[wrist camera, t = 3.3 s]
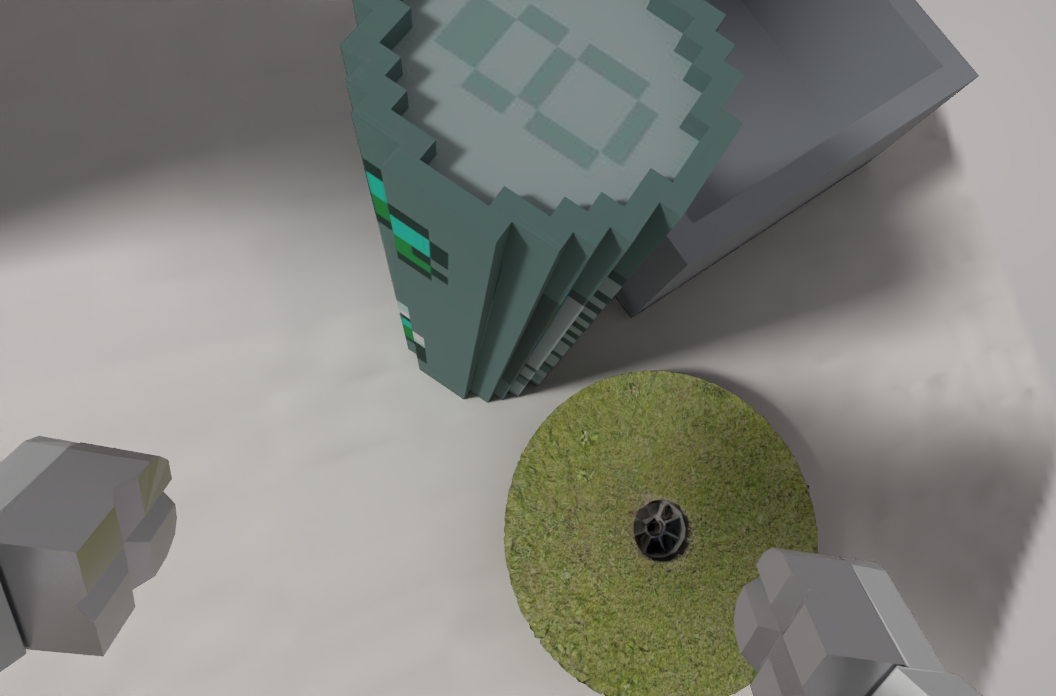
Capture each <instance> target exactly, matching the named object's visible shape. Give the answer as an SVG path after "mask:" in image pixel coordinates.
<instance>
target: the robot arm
mask: <svg viewBox="0 0 1056 696" xmlns="http://www.w3.org/2000/svg"><path fill="white" fill-rule="evenodd" d="M171 479H172V477H171V472H170V467H169V461H168V460H167V459H165V458H163V457H161V456H156V455H150V454H144V453H139V452H133V451H127V450H121V449H116V448H110V447H104V446H99V445H93V444H87V443H77V442H71V441H65V440H60V439H54V438H48V437H43V436H37V437H35V438H32V439H29V440H26V441H24V442H23V443H21V444H20V445H19V446H18V447H17V448H16V449H15V450H14V451H12V452H11V453H10V454H9V455H8V456H7V457H6V458H5V459H3V460H2V461H1V462H0V672H1V671H2V670H4V669H5V668H6V667H8V666H9V665H11V664H12V663H14V662H15V661H16V660H18V659H19V658H21V657H22V656H24V655H25V654H26V650H25V649H30V650H41V651H52V652H62V653H73V654H84V655H95V656H104V655H105V653H106V652H107V650H108V648H109V647H110V645H111V644H112V642H113V641H114V639H115V638H116V636H117V634H118V633H119V631H120V630H121V628H122V627H123V625H124V624H125V622H126V621H127V619H128V617H129V616H130V614H131V613H132V611H133V610H134V608H135V602H134V597H133V591H132V590H133V589H134V588H136V587H138V586H139V585H141V584H143V583H144V582H146V581H148V580H149V579H151V578H153V577H154V576H155V575H156V573H157V572H158V570H159V569H160V567H161V565H162V564H163V562H164V560H165V559H166V557H167V555H168V552H169V549H170V546H171V544H172V541H173V538H174V535H175V529H176V520H177V516H176V507H175V503H174V502H173V501H172V500H171V499H170V498H169V497H168V496H167V495H166V494H165V493H164V492H163V491H164V489H165V488H166V486H167V485H168V484H169V482H170V481H171ZM756 566H757V569H758V571H759V574H760V577H759V578H757V579H755V580H754V581H752V582H750V583H748V584H746V585H744V587H743V589H742V591H741V593H740V595H739V597H738V599H737V601H736V607H735V615H734V627H735V636H736V640H737V643H738V647H739V650H740V654H741V655H742V656H743V657H744V658H745V659H746V661H747V662H748V663H749V664H750V665H751V666H752V667H753V668H754V669H755V670H756V672H755V675H754V677H753V680H752V682H751V685H750V687H751V690H752V693H753V696H983V695H982V694H980V693H979V692H978V691H977V690H976V689H975V688H973V687H972V686H971V685H970V684H969V683H968V682H966V681H965V680H964V679H963V678H962V677H960V676H959V675H958V674H953V673H947V672H946V670H945V669H944V667H943V665H942V664H941V662H940V660H939V659H938V657H937V655H936V654H935V652H934V650H933V649H932V647H931V645H930V644H929V642H928V640H927V639H926V637H925V635H924V634H923V632H922V630H921V629H920V627H919V625H918V624H917V622H916V620H915V619H914V617H913V615H912V614H911V612H910V610H909V609H908V607H907V605H906V604H905V602H904V600H903V599H902V597H901V595H900V594H899V592H898V590H897V589H896V587H895V585H894V584H893V582H892V580H891V579H890V577H889V575H888V574H887V572H886V571H885V570H884V569H883V568H882V567H881V566H880V565H879V564H877V563H876V562H872V561H865V560H858V559H851V558H844V557H839V558H838V557H835V556H830V555H823V554H815V553H808V552H801V551H794V550H787V549H780V548H770V549H769V550H767V551H766V552H764V553H763V554H762V556H761V558H760V559H759V561H758V563H757V564H756Z"/></svg>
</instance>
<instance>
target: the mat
mask: <svg viewBox="0 0 1056 696" xmlns="http://www.w3.org/2000/svg"><path fill="white" fill-rule="evenodd" d="M804 482H805V480H804V478H803V476H802V474H801V472H800V468H799V466H798V463H797V462H796V461H795V460H794V456H793V454H792V453H791V451H790V450H789V448H788V446H787V445H786V444H785V443H784V442H783V440H782V438H781V437H780V436H779V435H778V434H777V433H776V432H774V431H773V429H772V428H771V426H770V424H769V423H768V422H767V420H766V419H765V418H764V417H763V416H762V415H760V414H759V413H757V412H756V411H755V409H754V408H753V407H752V406H750V405H749V404H747V403H746V402H744V401H743V400H742V399H741V398H740V397H739V398H737V395H735V394H732V393H730V392H729V391H727V390H725V389H723V388H721V387H720V386H718V385H716V384H714V383H709V382H708V381H705V380H703V379H701V378H697V377H694V376H689V375H686V374H683V373H682V374H679V373H673V372H668V371H659V372H658V371H650V372H649V371H646V370H645V371H643V372H640V371H636V372H635V373H634V372H630V373H627V374H621V375H618V376H612V377H609V378H606V379H604V380H602V381H599V382H596V383H594V384H592V385H590V386H588V387H587V388H584V389H582V390H581V391H579V392H578V393H576V394H574V395H573V396H571V397H570V398H569V399H568V400H566V401H565V402H564V403H562V404H561V405H560V406H558V407H557V408H556V409H555V410H554V411H553V412H552V413H551V414H550V415H549V416H548V417H547V419H546V420H545V421H544V422H543V423H542V424H541V426H540V427H539V429H538V430H537V431H536V433H535V434H534V436H533V437H532V438H531V440H530V441H529V443H528V445H527V447H526V448H525V450H524V452H523V453H522V454H521V457H520V461H519V462H518V466H517V467H516V470H515V473H514V475H513V479H512V484H511V487H510V489H509V494H508V499H507V501H508V503H507V505H506V513H505V527H504V532H505V537H504V544H505V557H506V562H507V568H508V570H509V572H510V579H511V585H512V587H513V590H514V594H515V596H516V597H517V601H518V605H519V607H520V610H521V612H522V614H523V616H524V618H525V619H526V620H527V622H529V625H530V629H532V630H533V632H534V635H535V637H536V638H541V640H540V643H541V645H542V646H543V647H544V649H545V650H546V651H547V652H549V653H550V654H551V656H552V657H553V659H554V660H556V661H557V662H558V663H559V664H560V665H561V667H563V668H564V669H565V670H566V671H567V672H568V673H570V674H571V675H572V676H573V677H576V678H577V680H578V681H579V682H581V683H584V684H586V685H587V686H588V687H589V688H591V689H592V690H594V691H596V692H598V693H599V694H602V693H604V695H605V696H729V695H731V694H735V693H737V692H738V691H739V690H741V689H743V688H744V687H746V686H748V685H749V684H751V682H752V680H753V677H754V675H755V672H756V670H755V669H754V668H753V667H752V666H751V665H750V664H749V663H748V662H747V661H746V659H745V658H744V657H743V656H742V655H741V654H740V650H739V647H738V643H737V640H736V636H735V627H734V615H735V607H736V601H737V599H738V597H739V595H740V593H741V591H742V589H743V587H744V585H746V584H748V583H750V582H752V581H754V580H755V579H757V578H759V577H760V574H759V571H758V569H757V566H756V564H757V563H758V561H759V559H760V558H761V556H762V554H763V553H764V552H766V551H767V550H769V549H770V548H780V549H787V550H794V551H801V552H808V553H815V554H818V549H817V527H816V521H815V513H814V509H813V504H812V501H811V498H810V495H809V491H808V489H809V486H808V485H807V484H805V483H804Z"/></svg>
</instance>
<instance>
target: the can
mask: <svg viewBox="0 0 1056 696" xmlns="http://www.w3.org/2000/svg"><path fill="white" fill-rule="evenodd" d="M353 6H354V11H355V17H356V22H357V28H356V29H355V30H354V31H353V32H352V33H351V35H350V36H349V37H348V38H347V39H346V40H345V41H344V42H343V43H342V44H341V45H340V47H341V51H342V56H343V60H344V64H345V69H346V73H347V78H346V83H347V87H348V92H349V96H350V100H351V104H352V108H353V111H352V113H351V115H352V120H353V124H354V128H355V132H356V136H357V140H358V144H359V148H360V152H361V156H362V160H363V165H364V169H365V173H366V177H367V181H368V185H369V189H370V193H371V197H372V201H373V205H374V209H375V214H376V218H377V222H378V226H379V230H380V234H381V238H382V242H383V246H384V250H385V254H386V258H387V263H388V267H389V271H390V275H391V279H392V283H393V287H394V291H395V295H396V299H397V303H398V307H399V312H400V316H401V320H402V324H403V328H404V332H405V336H406V340H407V344H408V348H409V349H410V350H411V351H413V352H414V353H416V354H417V357H418V362H419V368H420V370H422V371H423V372H425V373H426V374H428V375H429V376H430V377H432V378H433V379H435V380H436V381H438V382H439V383H441V384H442V385H444V386H445V387H447V388H448V389H450V390H451V391H452V392H454V393H455V394H457V395H458V396H460V397H461V398H463V399H465V397H466V396H467V394H468V393H469V392H470V391H471V392H473V393H474V394H476V395H477V396H479V397H480V398H482V399H483V400H485V401H486V402H487V403H488V402H489V400H490V399H491V397H492V396H493V394H494V395H496V396H497V397H499V398H500V399H502V400H503V399H504V397H505V396H506V394H507V393H508V391H509V392H510V393H512V394H513V395H515V396H516V397H518V395H519V394H520V393H521V391H522V390H523V389H524V387H525V386H526V385H527V383H528V382H529V381H531V382H532V383H534V384H535V385H537V386H538V385H539V384H540V382H541V381H542V380H543V379H544V378H545V377H546V375H547V374H548V373H549V372H550V371H551V370H552V368H553V367H554V366H555V365H556V364H557V363H558V361H559V360H560V359H561V358H562V357H563V356H564V354H565V353H566V352H567V351H568V350H569V349H570V347H571V346H572V345H573V344H574V343H575V342H576V340H577V339H578V338H579V337H580V336H581V335H582V333H583V332H584V331H585V330H586V329H587V328H588V326H589V325H590V324H591V323H592V322H593V321H594V319H595V318H596V317H597V316H598V315H599V314H600V312H601V311H602V310H603V309H604V308H605V307H606V305H607V304H608V303H609V302H610V301H611V300H612V298H613V297H614V296H615V295H616V294H617V293H618V291H619V290H620V289H621V288H622V287H623V286H624V284H625V283H626V282H627V281H628V280H629V278H630V277H631V276H632V275H633V274H634V273H635V271H636V270H637V269H638V268H639V267H640V266H641V264H642V263H643V262H644V261H645V260H646V259H647V257H648V256H649V255H650V254H651V253H652V252H653V250H654V249H655V248H656V247H657V246H658V245H659V243H660V242H661V241H662V240H663V239H664V238H665V236H666V235H667V234H668V233H669V232H670V231H671V229H672V228H673V227H674V226H675V225H676V224H677V222H678V221H679V220H680V219H681V218H682V216H683V215H684V213H685V212H686V210H687V209H688V207H689V206H690V204H691V203H692V201H693V200H694V198H695V196H696V195H697V193H698V192H699V190H700V189H701V187H702V186H703V184H704V183H705V181H706V180H707V178H708V177H709V175H710V173H711V172H712V170H713V169H714V167H715V166H716V164H717V163H718V161H719V160H720V158H721V157H722V155H723V153H724V152H725V150H726V149H727V147H728V146H729V144H730V143H731V141H732V140H733V138H734V137H735V135H736V133H737V132H738V130H739V129H740V127H741V126H742V124H743V123H742V122H741V121H739V120H738V119H736V118H735V117H733V116H732V115H730V114H729V113H727V112H726V111H724V110H723V109H722V108H723V107H724V105H725V104H726V102H727V101H728V99H729V98H730V96H731V95H732V93H733V92H734V90H735V89H736V87H737V86H738V84H739V83H740V81H741V80H742V79H743V77H744V76H745V74H743V73H742V72H740V71H739V70H737V69H736V68H734V67H733V66H731V65H730V64H728V63H727V62H725V60H726V59H727V57H728V56H729V54H730V53H731V51H732V49H733V48H734V46H735V45H736V44H734V43H733V42H731V41H730V40H728V39H727V38H725V37H724V36H722V35H721V34H719V33H718V32H717V30H718V29H719V27H720V25H721V24H722V22H723V20H724V18H725V17H726V14H724V13H723V12H721V11H720V10H718V9H717V8H715V7H714V6H712V5H711V4H709V3H708V2H706V1H705V0H353Z"/></svg>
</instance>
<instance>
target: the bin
mask: <svg viewBox="0 0 1056 696" xmlns="http://www.w3.org/2000/svg"><path fill="white" fill-rule="evenodd" d="M705 1H706V2H708V3H709V4H711V5H712V6H714V7H715V8H717V9H718V10H720V11H721V12H723V13H724V14H726V17H725V18H724V20H723V22H722V24H721V25H720V27H719V29H718V30H717V32H718V33H719V34H721V35H722V36H724V37H725V38H727V39H728V40H730V41H731V42H733V43H734V44H736V45H735V46H734V48H733V49H732V51H731V53H730V54H729V56H728V57H727V59H726V60H725V62H727V63H728V64H730V65H731V66H733V67H734V68H736V69H737V70H739V71H740V72H742V73H743V74H745V76H744V77H743V79H742V80H741V81H740V83H739V84H738V86H737V87H736V89H735V90H734V92H733V93H732V95H731V96H730V98H729V99H728V101H727V102H726V104H725V105H724V107H723V108H722V109H723V110H724V111H726V112H727V113H729V114H730V115H732V116H733V117H735V118H736V119H738V120H739V121H741V122H742V123H743V124H742V126H741V127H740V129H739V130H738V132H737V133H736V135H735V137H734V138H733V140H732V141H731V143H730V144H729V146H728V147H727V149H726V150H725V152H724V153H723V155H722V157H721V158H720V160H719V161H718V163H717V164H716V166H715V167H714V169H713V170H712V172H711V173H710V175H709V177H708V178H707V180H706V181H705V183H704V184H703V186H702V187H701V189H700V190H699V192H698V193H697V195H696V196H695V198H694V200H693V201H692V203H691V204H690V206H689V207H688V209H687V210H686V212H685V213H684V215H683V216H682V218H681V219H680V220H679V221H678V222H677V224H676V225H675V226H674V227H673V228H672V229H671V231H670V232H669V233H668V234H667V235H666V236H665V238H664V239H663V240H662V241H661V242H660V243H659V245H658V246H657V247H656V248H655V249H654V250H653V252H652V253H651V254H650V255H649V256H648V257H647V259H646V260H645V261H644V262H643V263H642V264H641V266H640V267H639V268H638V269H637V270H636V271H635V273H634V274H633V275H632V276H631V277H630V278H629V280H628V281H627V282H626V283H625V284H624V286H623V287H622V288H621V289H620V290H619V291H618V293H617V294H616V295H615V296H616V298H617V299H618V300H619V302H620V303H621V305H622V306H623V307H624V309H625V310H626V312H627V313H628V314H629V316H630V317H631V318H632V317H634V316H635V315H637V314H638V313H640V312H641V311H643V310H644V309H646V308H648V307H649V306H651V305H652V304H654V303H655V302H657V301H658V300H660V299H661V298H663V297H664V296H666V295H667V294H669V293H670V292H672V291H673V290H675V289H676V288H678V287H679V286H681V285H683V284H684V283H686V282H687V281H689V280H690V279H692V278H693V277H695V276H696V275H698V274H699V273H701V272H702V271H704V270H705V269H707V268H708V267H710V266H711V265H713V264H714V263H716V262H717V261H719V260H721V259H722V258H724V257H725V256H727V255H728V254H730V253H731V252H733V251H734V250H736V249H737V248H739V247H740V246H742V245H743V244H745V243H746V242H748V241H749V240H751V239H752V238H754V237H756V236H757V235H759V234H760V233H762V232H763V231H765V230H766V229H768V228H769V227H771V226H772V225H774V224H775V223H777V222H778V221H780V220H781V219H783V218H784V217H786V216H787V215H789V214H791V213H792V212H794V211H795V210H797V209H798V208H800V207H801V206H803V205H804V204H806V203H807V202H809V201H810V200H812V199H813V198H815V197H816V196H818V195H819V194H821V193H822V192H824V191H825V190H827V189H829V188H830V187H832V186H833V185H835V184H836V183H838V182H839V181H841V180H842V179H844V178H845V177H847V176H848V175H850V174H851V173H853V172H854V171H856V170H857V169H859V168H860V167H862V166H864V165H865V164H867V163H868V162H870V161H871V160H872V159H873V158H875V157H876V156H877V155H878V154H880V153H881V152H882V151H884V150H885V149H886V148H887V147H889V146H890V145H891V144H893V143H894V142H895V141H896V140H898V139H899V138H900V137H901V136H903V135H904V134H905V133H907V132H908V131H909V130H910V129H912V128H913V127H914V126H916V125H917V124H918V123H919V122H921V121H922V120H923V119H924V118H926V117H927V116H928V115H930V114H931V113H932V112H933V111H935V110H936V109H937V108H938V107H940V106H941V105H942V104H943V103H945V102H946V101H947V100H949V99H950V98H951V97H953V96H954V95H955V94H956V93H958V92H959V91H960V90H961V89H963V88H964V87H965V86H966V85H968V84H969V83H970V82H972V81H973V80H974V79H976V78H977V77H978V74H977V73H976V72H975V71H974V69H973V68H972V67H971V66H970V65H969V64H968V62H967V61H966V60H965V59H964V58H963V57H962V55H961V54H960V53H959V52H958V50H957V49H956V48H955V47H954V46H953V45H952V43H951V42H950V41H949V40H948V39H947V37H946V36H945V35H944V34H943V33H942V31H941V30H940V29H939V28H938V27H937V25H936V24H935V23H934V22H933V21H932V20H931V18H930V17H929V16H928V15H927V14H926V12H925V11H924V10H923V9H922V8H921V6H920V5H919V4H918V3H917V2H916V1H915V0H705Z"/></svg>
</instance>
